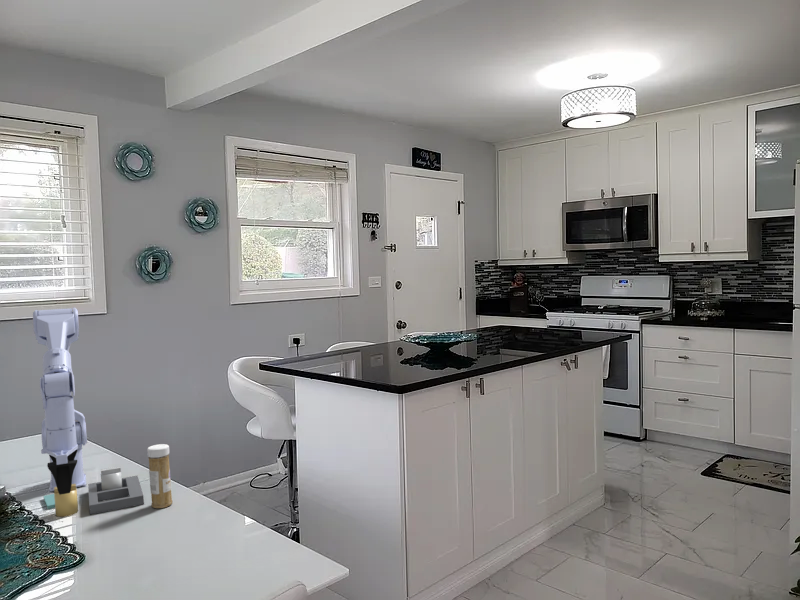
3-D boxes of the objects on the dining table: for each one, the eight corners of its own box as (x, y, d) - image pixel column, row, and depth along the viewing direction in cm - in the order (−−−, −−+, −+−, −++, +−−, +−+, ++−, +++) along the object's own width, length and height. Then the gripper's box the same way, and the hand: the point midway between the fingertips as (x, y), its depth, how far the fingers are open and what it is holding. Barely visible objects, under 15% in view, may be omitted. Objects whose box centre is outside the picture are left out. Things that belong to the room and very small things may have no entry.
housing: (88, 492, 154) (88, 484, 153) (137, 483, 158) (137, 475, 158) (89, 514, 139) (89, 505, 139) (143, 504, 144) (143, 495, 144)
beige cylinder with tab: (56, 511, 142) (54, 485, 141) (78, 507, 144) (76, 481, 143) (55, 518, 138) (53, 491, 138) (78, 514, 140) (76, 487, 140)
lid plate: (43, 499, 150) (43, 496, 150) (67, 494, 153) (67, 490, 153) (47, 509, 143) (47, 506, 143) (72, 503, 146) (72, 500, 146)
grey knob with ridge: (101, 492, 153) (100, 467, 153) (121, 488, 155) (120, 464, 155) (102, 498, 149) (100, 473, 149) (123, 494, 151) (121, 469, 151)
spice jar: (174, 505, 142) (171, 446, 142) (153, 510, 140) (149, 450, 139) (169, 499, 146) (166, 442, 145) (148, 504, 144) (145, 446, 143)
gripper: (41, 423, 144) (45, 482, 145) (37, 437, 131) (42, 502, 132) (76, 418, 147) (80, 476, 148) (76, 432, 135) (80, 495, 135)
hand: (65, 488), depth 140 cm, fingers open, 7 cm apart
